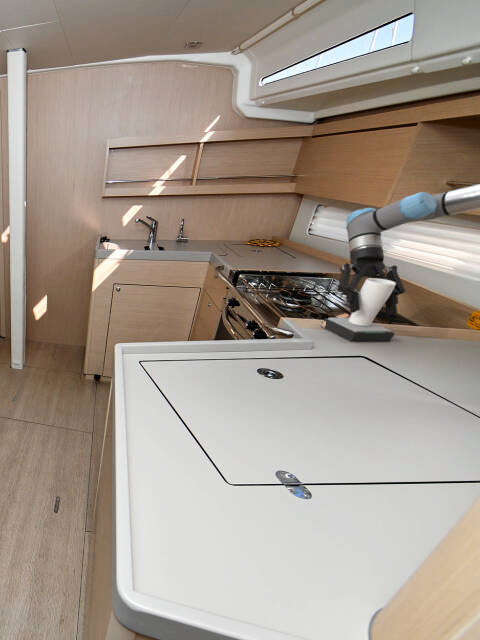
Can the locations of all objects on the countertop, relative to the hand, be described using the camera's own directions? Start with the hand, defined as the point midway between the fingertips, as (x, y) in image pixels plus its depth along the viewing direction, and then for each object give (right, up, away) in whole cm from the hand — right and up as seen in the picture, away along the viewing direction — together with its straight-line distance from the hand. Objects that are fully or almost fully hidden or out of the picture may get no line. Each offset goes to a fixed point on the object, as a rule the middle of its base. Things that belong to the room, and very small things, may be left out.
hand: (373, 312), depth 114 cm
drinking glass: (+1, -4, +5) cm, 7 cm away
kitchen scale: (+1, -7, +7) cm, 10 cm away
